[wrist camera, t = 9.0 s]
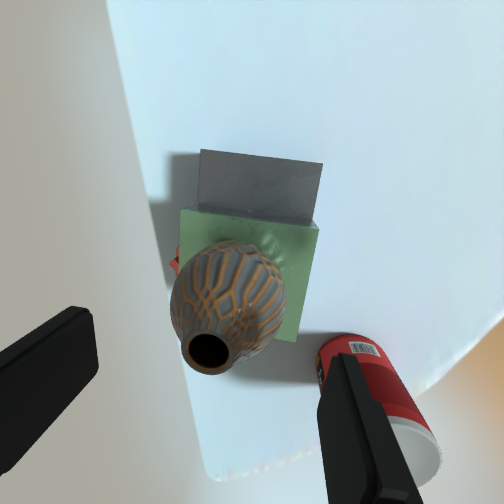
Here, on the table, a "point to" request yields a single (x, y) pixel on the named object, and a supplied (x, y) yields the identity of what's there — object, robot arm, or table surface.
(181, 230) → the stand
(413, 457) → the canned food
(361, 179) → the table surface
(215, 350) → the vase
